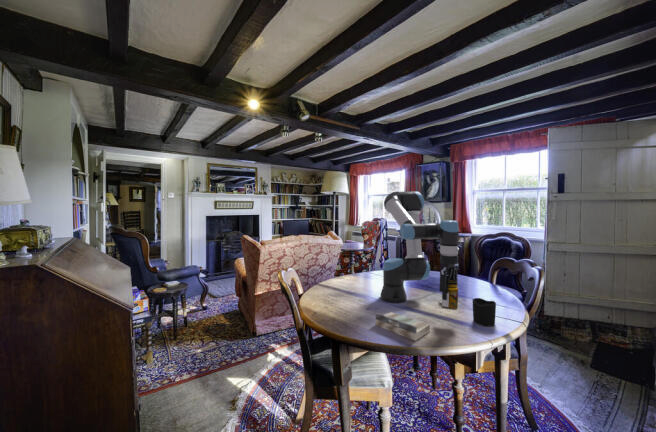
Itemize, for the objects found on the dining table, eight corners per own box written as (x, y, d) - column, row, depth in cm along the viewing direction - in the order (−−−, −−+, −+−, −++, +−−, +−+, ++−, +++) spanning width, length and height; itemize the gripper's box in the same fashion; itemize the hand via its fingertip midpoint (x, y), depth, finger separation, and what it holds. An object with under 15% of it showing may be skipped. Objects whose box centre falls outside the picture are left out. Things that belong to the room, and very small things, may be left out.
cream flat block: (375, 325, 123) (375, 313, 122) (390, 317, 131) (390, 306, 131) (414, 341, 108) (414, 327, 108) (429, 331, 116) (429, 318, 116)
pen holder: (487, 318, 129) (487, 297, 129) (500, 326, 120) (500, 304, 119) (468, 318, 129) (468, 298, 128) (480, 327, 119) (480, 305, 119)
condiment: (459, 310, 118) (460, 283, 117) (439, 308, 120) (439, 282, 120) (457, 304, 124) (457, 279, 124) (437, 302, 127) (437, 277, 126)
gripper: (448, 258, 112) (447, 312, 113) (466, 252, 125) (465, 301, 126) (431, 256, 118) (430, 307, 119) (449, 250, 130) (449, 297, 132)
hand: (448, 304), depth 122 cm, fingers closed on condiment, 6 cm apart
